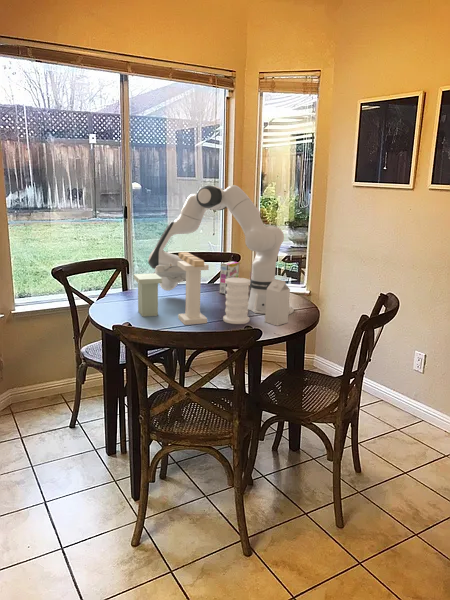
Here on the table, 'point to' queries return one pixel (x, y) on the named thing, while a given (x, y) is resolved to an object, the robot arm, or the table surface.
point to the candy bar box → (227, 274)
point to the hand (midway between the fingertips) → (180, 264)
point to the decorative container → (237, 300)
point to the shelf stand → (192, 294)
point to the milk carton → (277, 302)
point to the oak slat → (191, 259)
